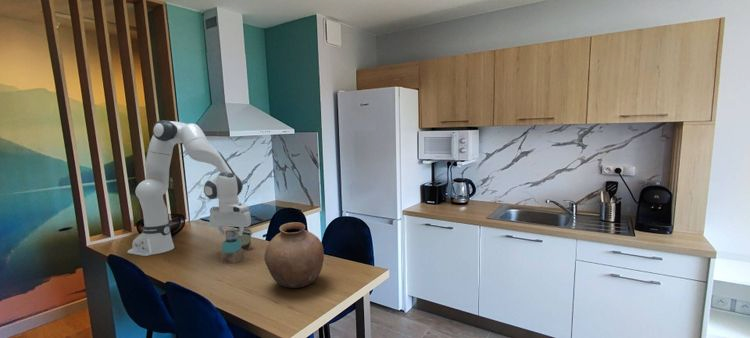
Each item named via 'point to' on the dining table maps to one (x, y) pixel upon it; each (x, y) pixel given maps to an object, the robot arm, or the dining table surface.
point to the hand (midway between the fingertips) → (231, 235)
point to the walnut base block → (232, 257)
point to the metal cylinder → (231, 235)
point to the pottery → (294, 256)
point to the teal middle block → (231, 246)
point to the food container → (245, 239)
